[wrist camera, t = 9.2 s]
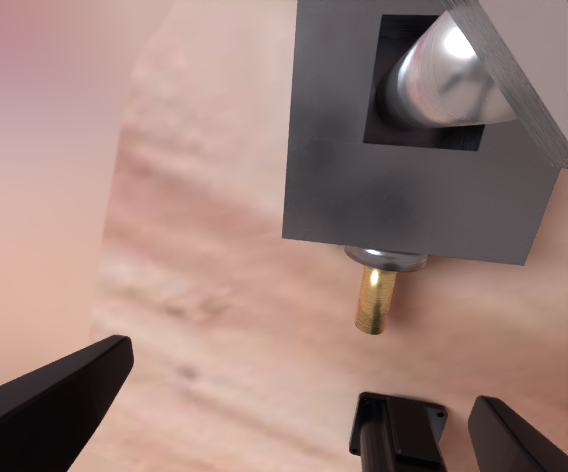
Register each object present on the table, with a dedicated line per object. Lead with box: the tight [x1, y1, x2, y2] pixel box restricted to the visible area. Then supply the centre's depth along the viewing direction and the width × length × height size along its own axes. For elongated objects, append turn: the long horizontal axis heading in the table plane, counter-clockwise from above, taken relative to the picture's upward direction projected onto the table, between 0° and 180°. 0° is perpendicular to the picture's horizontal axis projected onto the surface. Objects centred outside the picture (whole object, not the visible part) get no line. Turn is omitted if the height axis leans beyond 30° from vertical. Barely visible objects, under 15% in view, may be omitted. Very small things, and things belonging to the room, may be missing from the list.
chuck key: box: [377, 0, 568, 169], centre depth 10 cm, size 6×3×9 cm, turn 41°
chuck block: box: [282, 0, 561, 335], centre depth 15 cm, size 20×11×5 cm, turn 176°
